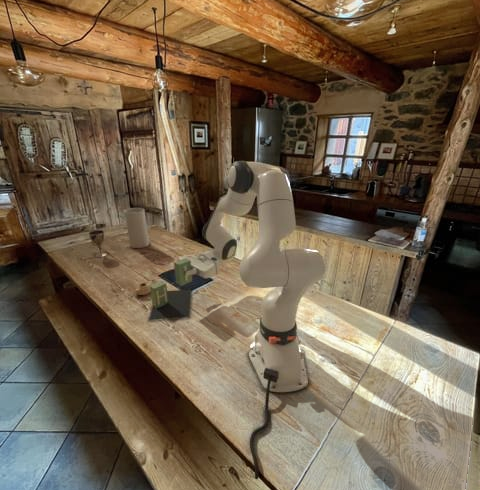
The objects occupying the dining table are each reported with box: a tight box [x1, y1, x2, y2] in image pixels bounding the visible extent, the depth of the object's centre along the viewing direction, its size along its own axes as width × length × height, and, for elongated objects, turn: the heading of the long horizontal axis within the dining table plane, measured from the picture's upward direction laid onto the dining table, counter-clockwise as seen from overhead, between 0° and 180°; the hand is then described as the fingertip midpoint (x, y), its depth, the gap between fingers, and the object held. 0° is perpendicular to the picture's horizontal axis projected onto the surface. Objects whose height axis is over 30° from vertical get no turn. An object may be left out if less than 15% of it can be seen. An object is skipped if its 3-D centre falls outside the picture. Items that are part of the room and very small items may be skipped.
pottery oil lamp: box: [132, 279, 158, 296], centre depth 128 cm, size 9×12×7 cm
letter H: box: [150, 280, 169, 308], centre depth 117 cm, size 4×6×10 cm, turn 137°
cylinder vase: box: [123, 207, 150, 249], centre depth 180 cm, size 12×12×25 cm
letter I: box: [173, 258, 193, 287], centre depth 114 cm, size 4×6×10 cm, turn 137°
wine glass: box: [88, 230, 108, 258], centre depth 167 cm, size 8×8×15 cm
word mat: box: [149, 289, 192, 321], centre depth 120 cm, size 22×16×1 cm
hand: (181, 271), depth 113 cm, fingers closed on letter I, 4 cm apart
